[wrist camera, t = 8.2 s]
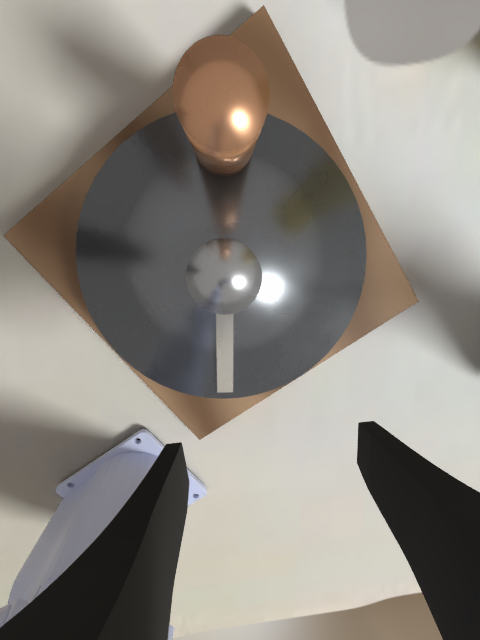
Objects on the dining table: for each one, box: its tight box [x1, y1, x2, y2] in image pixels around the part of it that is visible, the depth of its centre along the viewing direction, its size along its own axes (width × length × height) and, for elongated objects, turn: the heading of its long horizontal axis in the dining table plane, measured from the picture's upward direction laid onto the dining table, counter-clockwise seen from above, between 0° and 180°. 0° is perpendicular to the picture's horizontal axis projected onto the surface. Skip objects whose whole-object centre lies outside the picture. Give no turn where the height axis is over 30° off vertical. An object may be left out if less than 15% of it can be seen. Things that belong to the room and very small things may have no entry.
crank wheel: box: [76, 35, 367, 399], centre depth 14 cm, size 16×16×7 cm
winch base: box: [4, 5, 418, 440], centre depth 18 cm, size 18×18×1 cm
